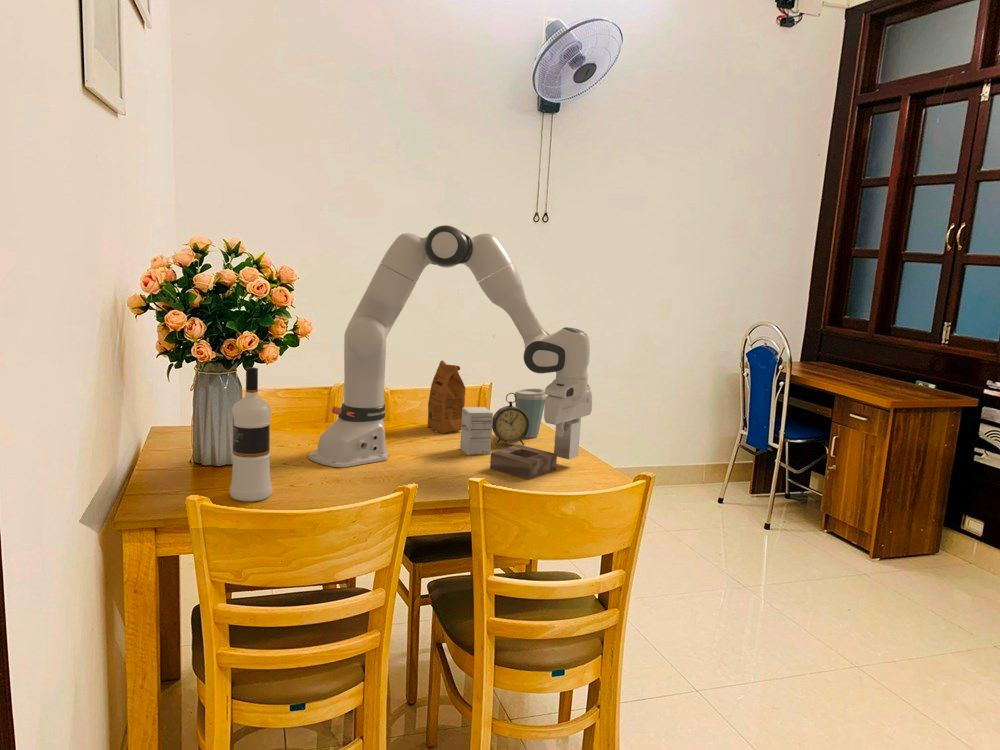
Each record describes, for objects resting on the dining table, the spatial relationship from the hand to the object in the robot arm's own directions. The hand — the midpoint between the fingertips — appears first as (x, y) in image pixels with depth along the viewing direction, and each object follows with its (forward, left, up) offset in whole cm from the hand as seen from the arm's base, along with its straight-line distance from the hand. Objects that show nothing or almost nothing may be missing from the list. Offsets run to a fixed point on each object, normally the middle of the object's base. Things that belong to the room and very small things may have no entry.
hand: (567, 434), depth 213 cm
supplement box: (-8, +26, -9) cm, 29 cm away
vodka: (-77, +37, -9) cm, 86 cm away
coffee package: (+5, +49, -9) cm, 50 cm away
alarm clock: (+6, +24, -9) cm, 26 cm away
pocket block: (-12, +6, -9) cm, 16 cm away
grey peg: (0, 0, -6) cm, 6 cm away
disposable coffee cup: (+20, +27, -9) cm, 34 cm away
